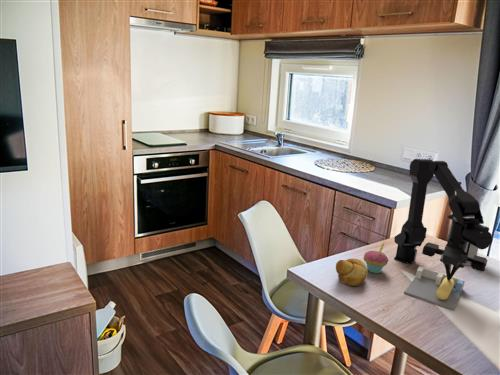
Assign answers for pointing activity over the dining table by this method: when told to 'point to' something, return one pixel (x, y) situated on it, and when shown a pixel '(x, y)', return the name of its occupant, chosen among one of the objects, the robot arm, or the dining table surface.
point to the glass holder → (471, 251)
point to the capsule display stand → (434, 287)
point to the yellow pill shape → (445, 289)
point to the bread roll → (351, 271)
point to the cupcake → (375, 260)
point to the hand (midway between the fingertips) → (448, 279)
